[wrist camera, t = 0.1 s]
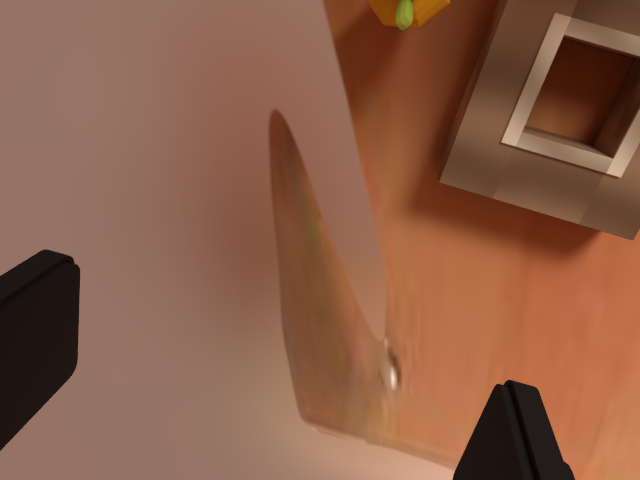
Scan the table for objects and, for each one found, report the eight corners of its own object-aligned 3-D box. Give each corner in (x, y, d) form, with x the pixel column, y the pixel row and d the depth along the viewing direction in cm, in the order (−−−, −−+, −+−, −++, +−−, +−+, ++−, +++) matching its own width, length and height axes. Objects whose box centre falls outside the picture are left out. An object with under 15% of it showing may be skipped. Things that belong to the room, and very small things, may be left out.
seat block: (521, -63, 33) (536, -74, 30) (734, -4, 33) (777, -7, 29) (436, 167, 40) (439, 183, 36) (612, 220, 39) (634, 241, 36)
